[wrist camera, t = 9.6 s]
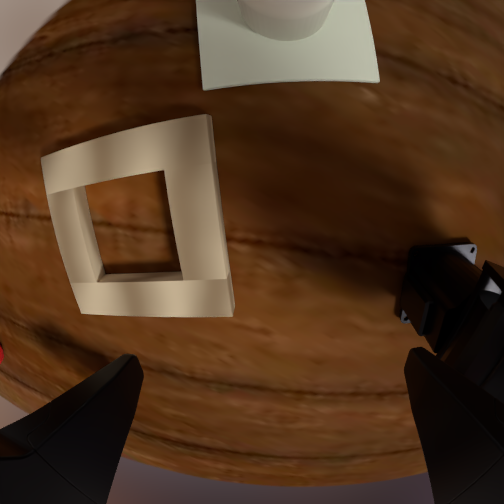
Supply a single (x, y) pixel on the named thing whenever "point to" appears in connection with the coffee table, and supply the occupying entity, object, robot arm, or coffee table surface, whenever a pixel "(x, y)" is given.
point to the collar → (182, 212)
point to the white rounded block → (285, 17)
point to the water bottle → (1, 354)
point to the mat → (284, 48)
